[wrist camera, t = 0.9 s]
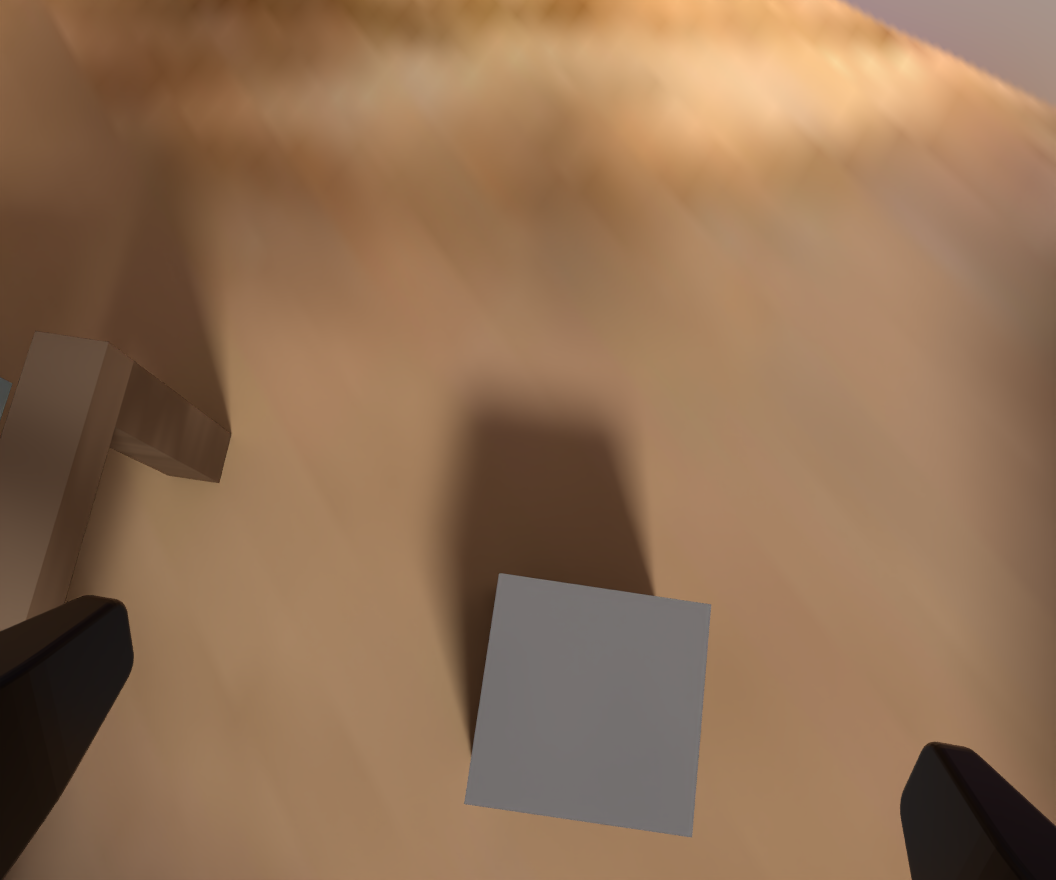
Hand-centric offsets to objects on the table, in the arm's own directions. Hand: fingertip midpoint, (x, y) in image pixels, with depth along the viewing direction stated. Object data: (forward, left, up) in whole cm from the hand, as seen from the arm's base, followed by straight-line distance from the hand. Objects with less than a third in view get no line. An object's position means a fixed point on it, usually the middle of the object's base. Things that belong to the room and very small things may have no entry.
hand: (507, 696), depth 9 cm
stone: (0, -2, -15) cm, 15 cm away
